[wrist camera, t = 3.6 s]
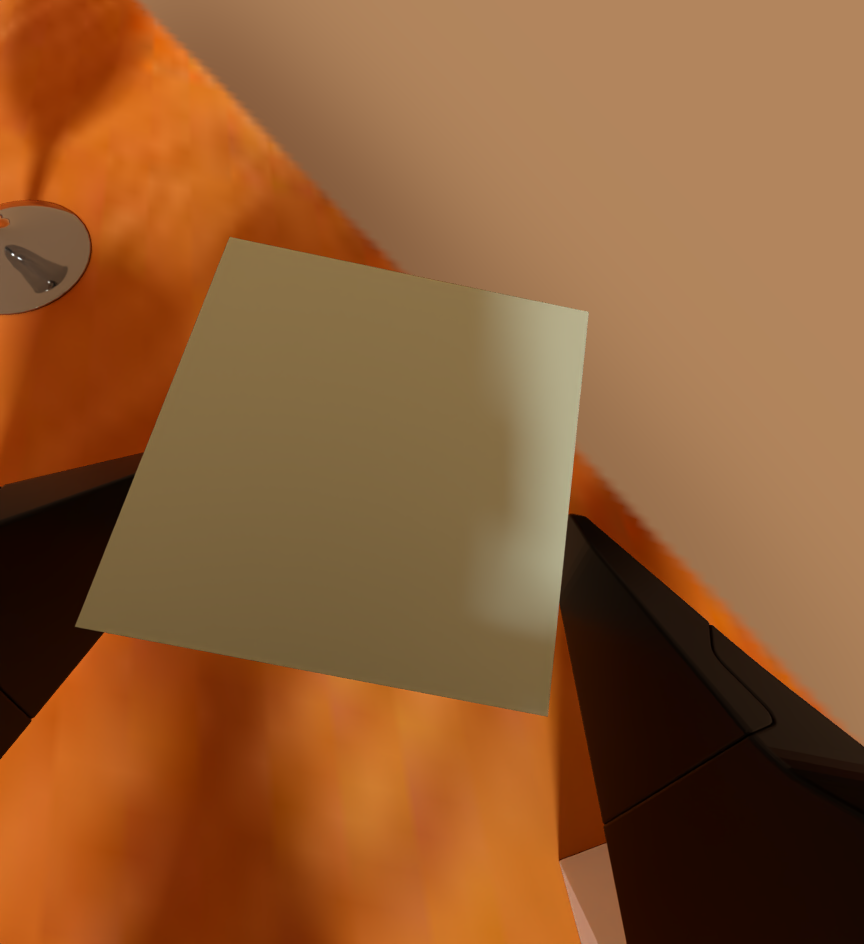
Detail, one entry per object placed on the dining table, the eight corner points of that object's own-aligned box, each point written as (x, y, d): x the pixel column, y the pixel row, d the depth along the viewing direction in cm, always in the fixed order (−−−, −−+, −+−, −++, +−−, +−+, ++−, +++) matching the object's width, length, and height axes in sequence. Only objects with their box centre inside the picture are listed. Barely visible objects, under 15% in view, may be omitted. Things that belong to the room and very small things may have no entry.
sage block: (442, 587, 16) (547, 715, 4) (335, 565, 16) (74, 627, 4) (461, 482, 17) (588, 311, 5) (360, 461, 17) (228, 237, 5)
